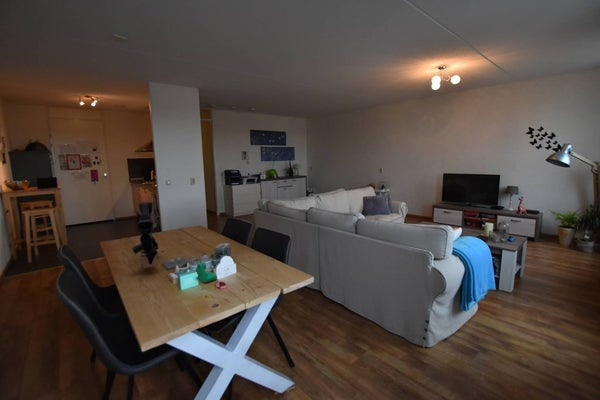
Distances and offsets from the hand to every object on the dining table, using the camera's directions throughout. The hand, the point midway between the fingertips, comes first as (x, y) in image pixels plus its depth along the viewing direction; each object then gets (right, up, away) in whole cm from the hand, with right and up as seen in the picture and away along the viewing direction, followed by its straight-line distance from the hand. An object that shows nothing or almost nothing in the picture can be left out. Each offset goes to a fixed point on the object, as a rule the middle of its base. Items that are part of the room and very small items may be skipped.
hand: (149, 263), depth 177 cm
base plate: (+13, -3, +9) cm, 16 cm away
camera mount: (+40, -6, -15) cm, 43 cm away
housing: (0, -2, 0) cm, 2 cm away
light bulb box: (+43, -2, +14) cm, 45 cm away
